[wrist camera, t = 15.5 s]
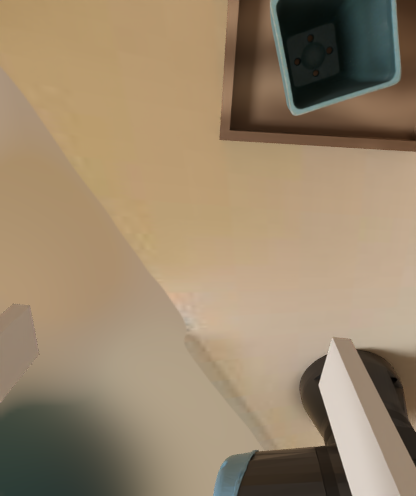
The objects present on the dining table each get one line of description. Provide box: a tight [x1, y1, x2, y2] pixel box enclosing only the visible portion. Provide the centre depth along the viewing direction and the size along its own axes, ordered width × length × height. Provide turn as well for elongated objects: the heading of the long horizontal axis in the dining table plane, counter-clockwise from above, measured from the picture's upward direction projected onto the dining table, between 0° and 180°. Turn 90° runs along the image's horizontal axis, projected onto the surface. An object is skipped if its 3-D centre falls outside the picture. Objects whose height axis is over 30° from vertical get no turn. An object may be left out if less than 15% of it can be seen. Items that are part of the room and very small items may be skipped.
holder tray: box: [220, 0, 416, 152], centre depth 32 cm, size 16×22×4 cm
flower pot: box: [270, 0, 401, 116], centre depth 28 cm, size 9×9×9 cm
